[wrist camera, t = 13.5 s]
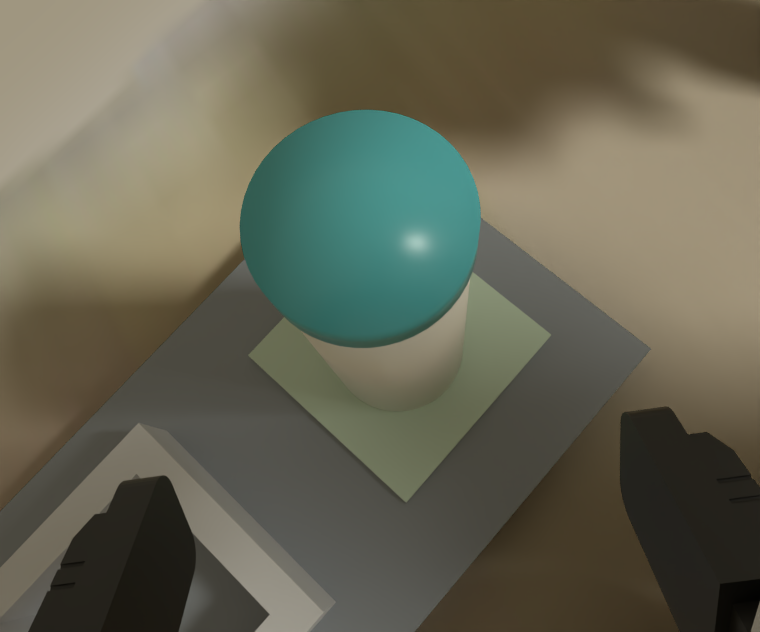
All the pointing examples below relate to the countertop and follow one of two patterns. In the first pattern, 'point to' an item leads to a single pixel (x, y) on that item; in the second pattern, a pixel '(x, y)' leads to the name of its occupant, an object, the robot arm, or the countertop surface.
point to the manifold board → (327, 456)
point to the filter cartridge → (368, 250)
